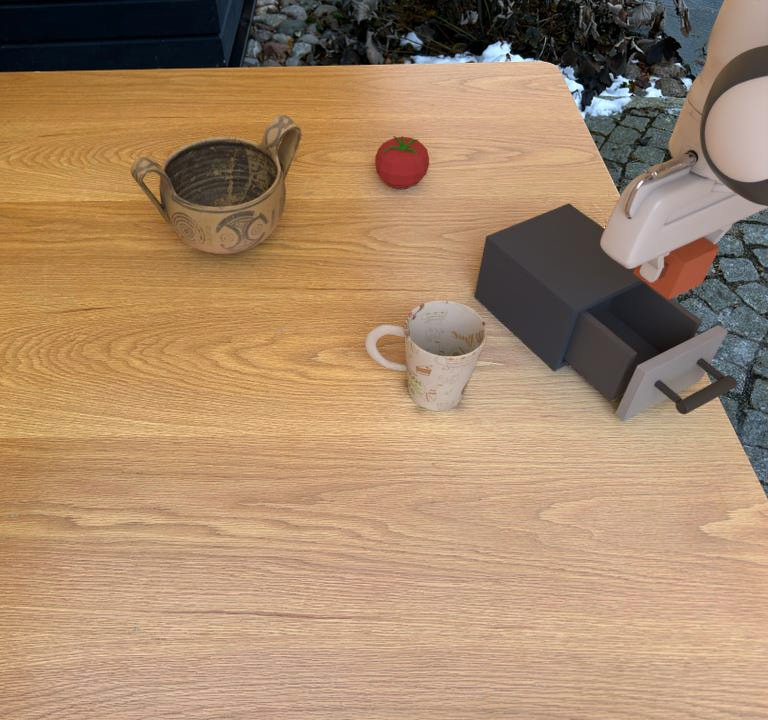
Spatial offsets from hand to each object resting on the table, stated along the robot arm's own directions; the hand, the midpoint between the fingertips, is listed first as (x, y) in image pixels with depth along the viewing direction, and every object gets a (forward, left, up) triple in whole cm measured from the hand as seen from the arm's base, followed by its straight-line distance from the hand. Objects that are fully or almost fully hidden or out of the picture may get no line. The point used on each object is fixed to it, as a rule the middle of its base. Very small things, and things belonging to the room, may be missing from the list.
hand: (673, 266), depth 71 cm
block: (0, 0, -2) cm, 2 cm away
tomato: (+36, -27, -17) cm, 48 cm away
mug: (+20, +10, -17) cm, 28 cm away
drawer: (0, 0, -16) cm, 16 cm away
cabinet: (+9, -8, -17) cm, 21 cm away
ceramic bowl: (+53, -5, -17) cm, 56 cm away
